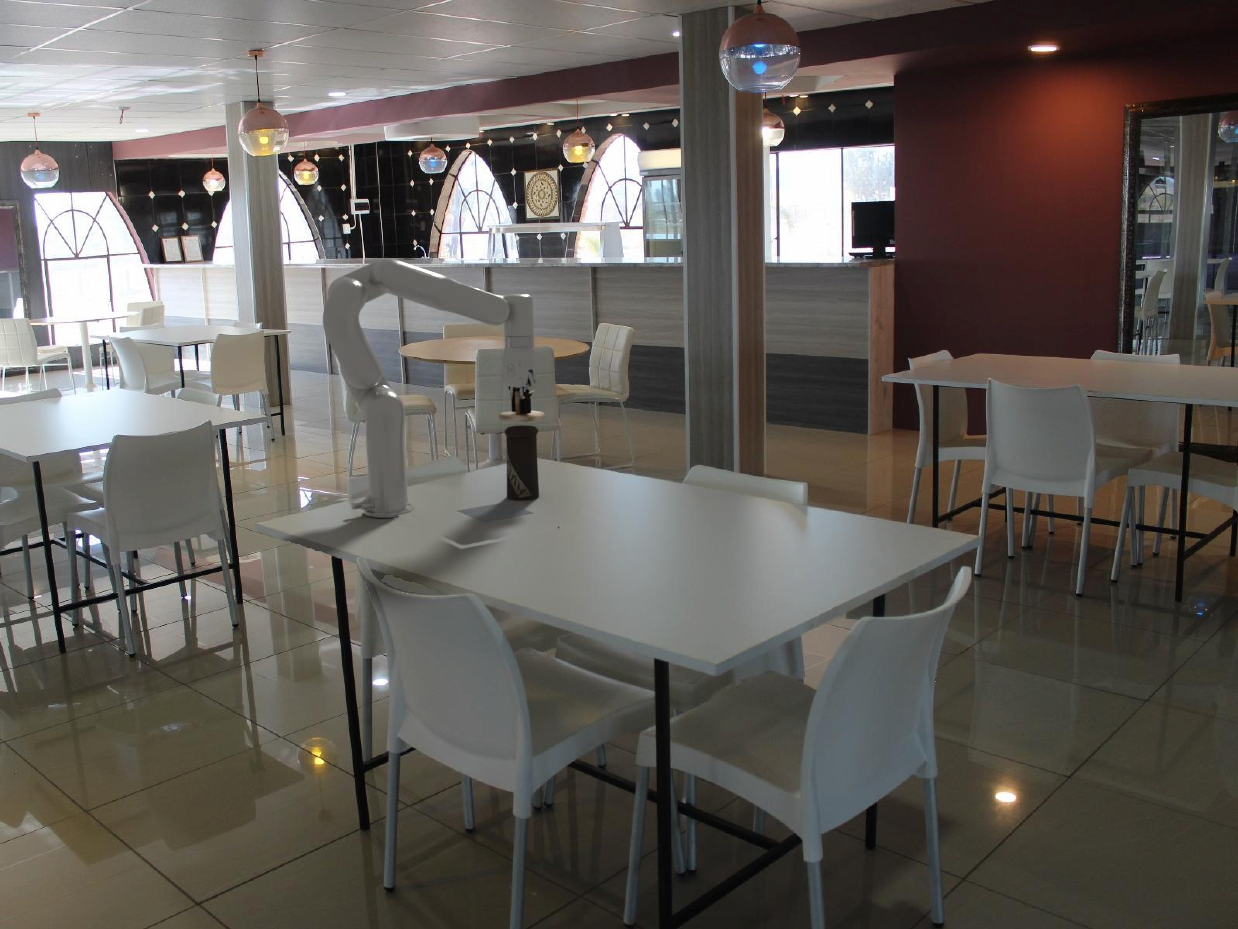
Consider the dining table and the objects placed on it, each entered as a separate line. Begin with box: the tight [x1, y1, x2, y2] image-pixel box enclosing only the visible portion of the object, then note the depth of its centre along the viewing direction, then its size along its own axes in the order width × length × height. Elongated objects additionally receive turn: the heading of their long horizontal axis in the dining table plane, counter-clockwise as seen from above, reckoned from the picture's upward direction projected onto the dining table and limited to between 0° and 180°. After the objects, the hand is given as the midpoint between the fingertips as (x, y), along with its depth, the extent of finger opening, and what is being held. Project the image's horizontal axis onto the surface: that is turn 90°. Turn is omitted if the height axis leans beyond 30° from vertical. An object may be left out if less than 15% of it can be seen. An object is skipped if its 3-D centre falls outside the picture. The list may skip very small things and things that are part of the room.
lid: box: [498, 390, 546, 423], centre depth 289 cm, size 12×12×7 cm
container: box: [504, 424, 540, 502], centre depth 292 cm, size 9×9×20 cm
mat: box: [457, 501, 534, 523], centre depth 279 cm, size 14×14×1 cm
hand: (521, 411), depth 289 cm, fingers closed on lid, 3 cm apart
